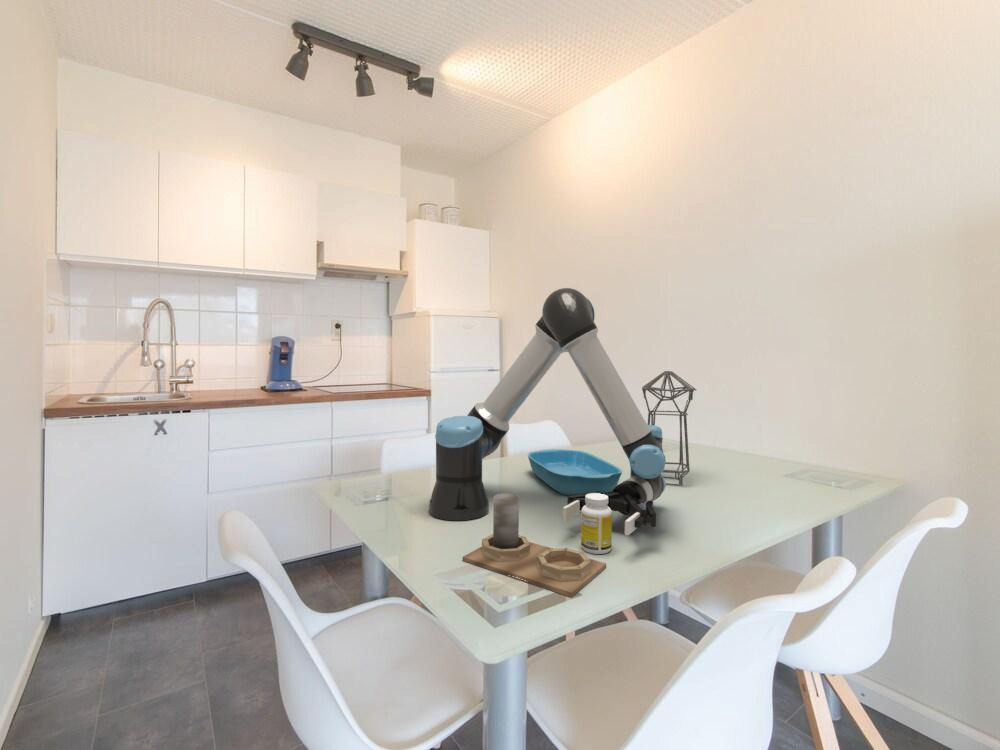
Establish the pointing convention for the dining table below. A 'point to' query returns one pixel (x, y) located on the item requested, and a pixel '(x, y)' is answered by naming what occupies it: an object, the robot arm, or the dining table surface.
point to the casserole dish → (574, 471)
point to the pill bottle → (596, 524)
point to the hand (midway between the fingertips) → (594, 521)
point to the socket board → (531, 554)
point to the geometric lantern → (687, 388)
